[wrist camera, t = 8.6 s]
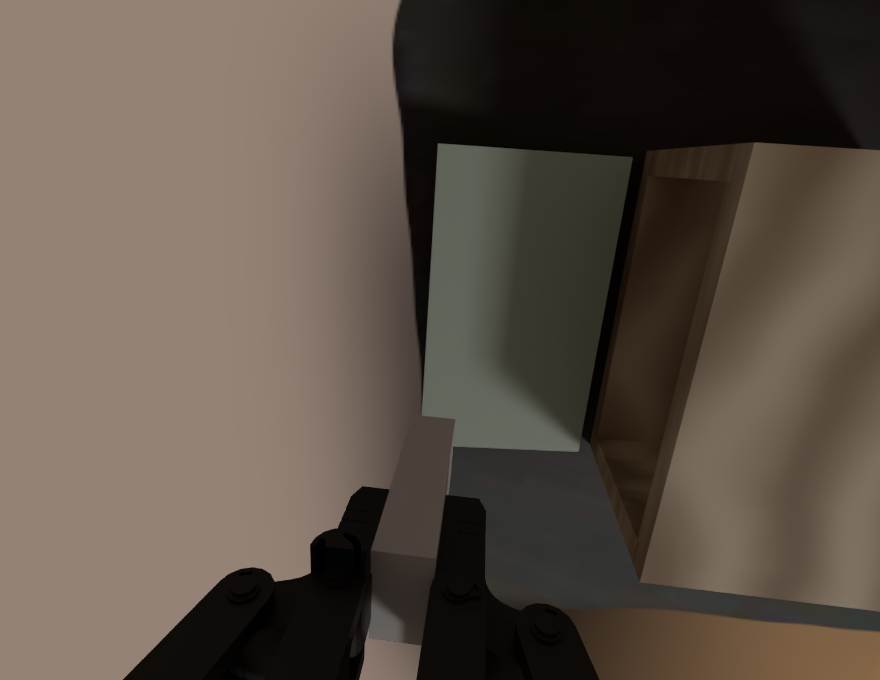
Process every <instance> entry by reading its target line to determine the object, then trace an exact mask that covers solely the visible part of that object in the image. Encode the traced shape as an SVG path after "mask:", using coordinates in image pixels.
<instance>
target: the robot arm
mask: <svg viewBox="0 0 880 680" xmlns="http://www.w3.org/2000/svg"><path fill="white" fill-rule="evenodd" d="M454 429H455V419H450V418H440V417H431V416H422V415H413V417H412V420H411V423H410V426H409V429H408V433H407V436H406V439H405V442H404V445H403V449H402V452H401V455H400V458H399V462H398V465H397V468H396V472H395V475H394V478H393V481H392V484H391V487H390V490H389V489H381V488H380V489H379V488H372V487H363V486H362V487H361V488H360V489H359V490H358V491H357V492H356V493H354V494H353V495H352V496H351V498H350V500H349V503H348V505H347V507H346V511H345V513H344V515H343V517H342V521H341V522H340V524H339V526H338V529H332V530H329V531H325V532H323V533H322V534H320V535H319V536H317V537H316V538H315V539H314V540H313V542H312V543H311V545H310V551H311V573H310V574H308V575H305V576H303V577H300V578H296V579H291V580H284V581H277V582H274V580H273V578H272V576H271V574H270V573H268V572H267V571H265V570H263V569H259V568H245V569H240V570H237V571H235V572H233V573H230V574H229V575H227V576H226V577H225V578H223V579H222V580H221V581H220V582H219V583H218V584H217V585H216V586H215V587H214V588H213V589H212V590H211V591H210V592H209V593H208V594H207V595H206V596H205V597H204V598H203V599H202V600H201V601H200V602H199V603H198V604H197V605H196V606H195V607H194V608H193V609H192V610H191V611H190V612H189V613H188V614H187V615H186V616H185V617H184V618H183V619H182V620H181V621H180V622H179V623H178V624H177V625H176V626H175V627H174V628H173V629H172V631H170V632H169V633H168V634H167V636H166V637H164V638H163V639H162V640H161V641H160V642H159V644H158V645H157V646H156V647H155V648H154V649H153V650H152V651H151V652H150V653H149V654H148V655H147V656H146V657H145V658H144V659H143V660H142V661H141V662H140V663H139V664H138V665H137V666H136V667H135V668H134V669H133V670H132V671H131V672H130V673H129V674H128V675H127V676H126V677H125V678H124V679H123V680H359V678H360V674H361V670H362V666H363V662H364V646H365V644H364V643H365V640H366V636H367V632H368V629H369V638H372V639H379V640H386V641H393V642H401V643H408V644H416V645H422V647H421V653H420V660H419V667H418V673H417V680H599V678H598V676H597V673H596V671H595V669H594V667H593V664H592V662H591V660H590V658H589V656H588V653H587V651H586V649H585V647H584V644H583V642H582V640H581V638H580V636H579V633H578V631H577V629H576V626H575V625H574V623H573V622H572V620H571V619H570V618H569V616H567V615H566V614H565V613H564V612H562V611H561V610H560V609H558V608H556V607H553V606H551V605H549V604H539V603H536V604H532V605H529V606H526V607H525V608H524V609H523V610H521V611H518V610H516V609H514V608H511V607H509V606H507V605H505V604H504V603H502V602H500V601H499V600H498V599H496V598H495V597H494V596H493V595H492V593H491V592H490V591H489V589H488V587H487V585H486V581H485V533H486V527H485V526H486V511H485V509H484V507H483V505H482V503H481V502H480V500H479V499H476V498H468V497H459V496H451V495H448V494H449V486H450V475H451V463H452V452H453V440H454Z"/></svg>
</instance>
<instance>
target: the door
mask: <svg viewBox="0 0 880 680" xmlns="http://www.w3.org/2000/svg"><path fill="white" fill-rule="evenodd" d="M632 160H633V157H622V156H608V155H594V154H580V153H566V152H552V151H538V150H524V149H510V148H496V147H482V146H468V145H454V144H439V143H438V148H437V165H436V181H435V198H434V215H433V232H432V249H431V266H430V282H429V299H428V316H427V333H426V350H425V367H424V383H423V400H422V416H431V417H440V418H450V419H455V429H454V440H453V446H456V447H479V448H503V449H526V450H549V451H572V452H578V451H579V446H580V440H581V435H582V429H583V424H584V419H585V413H586V408H587V402H588V397H589V392H590V386H591V381H592V376H593V370H594V365H595V359H596V354H597V349H598V343H599V338H600V332H601V327H602V322H603V316H604V311H605V305H606V300H607V295H608V289H609V284H610V278H611V273H612V268H613V262H614V257H615V251H616V246H617V241H618V235H619V230H620V224H621V219H622V214H623V208H624V203H625V198H626V192H627V187H628V181H629V176H630V171H631V165H632Z"/></svg>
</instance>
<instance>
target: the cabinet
mask: <svg viewBox="0 0 880 680" xmlns="http://www.w3.org/2000/svg"><path fill="white" fill-rule="evenodd" d="M590 446H591V449H592V451H593V454H594V457H595V460H596V462H597V465H598V468H599V471H600V473H601V476H602V479H603V482H604V485H605V487H606V490H607V493H608V496H609V498H610V501H611V504H612V507H613V509H614V512H615V515H616V518H617V521H618V523H619V526H620V529H621V532H622V534H623V537H624V540H625V543H626V546H627V548H628V551H629V554H630V557H631V559H632V562H633V565H634V568H635V570H636V573H637V576H638V579H639V582H642V583H650V584H658V585H666V586H675V587H683V588H691V589H699V590H708V591H716V592H724V593H732V594H741V595H749V596H757V597H765V598H773V599H782V600H790V601H798V602H806V603H815V604H823V605H831V606H839V607H848V608H856V609H864V610H872V611H880V150H865V149H850V148H834V147H819V146H803V145H788V144H772V143H757V142H753V143H740V144H728V145H715V146H702V147H690V148H677V149H664V150H652V151H646V157H645V162H644V167H643V172H642V177H641V182H640V188H639V193H638V198H637V203H636V208H635V213H634V219H633V224H632V229H631V234H630V239H629V244H628V250H627V255H626V260H625V265H624V270H623V276H622V281H621V286H620V291H619V296H618V301H617V307H616V312H615V317H614V322H613V327H612V332H611V338H610V343H609V348H608V353H607V358H606V363H605V369H604V374H603V379H602V384H601V389H600V394H599V400H598V405H597V410H596V415H595V420H594V426H593V431H592V436H591V441H590Z"/></svg>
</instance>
